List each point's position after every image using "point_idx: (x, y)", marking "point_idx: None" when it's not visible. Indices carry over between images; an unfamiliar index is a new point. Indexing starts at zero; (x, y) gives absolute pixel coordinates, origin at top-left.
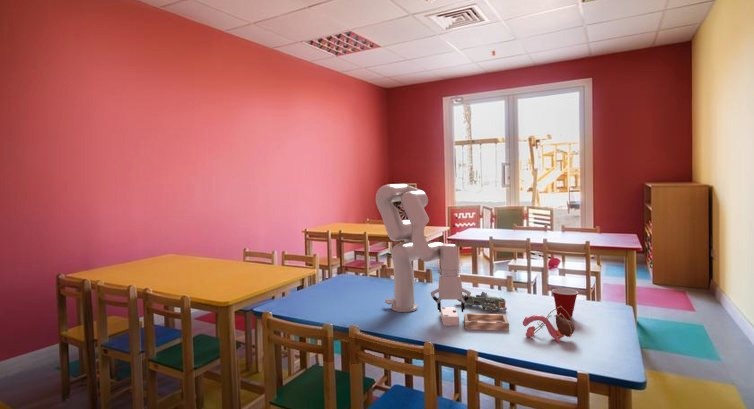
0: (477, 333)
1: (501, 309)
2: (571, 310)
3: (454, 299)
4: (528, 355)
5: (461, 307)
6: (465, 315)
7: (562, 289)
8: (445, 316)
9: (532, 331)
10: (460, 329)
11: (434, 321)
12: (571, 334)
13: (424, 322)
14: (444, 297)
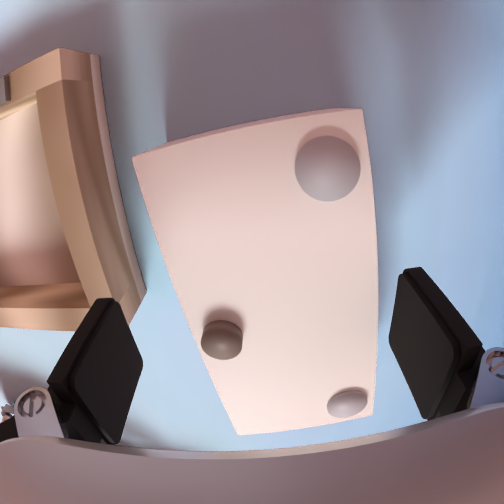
0: (18, 14)
1: (11, 412)
2: None
3: (149, 450)
4: None
5: (109, 355)
6: (92, 270)
7: None
8: (334, 128)
9: None
10: (143, 32)
11: (422, 209)
12: None
13: (494, 174)
14: (463, 461)
